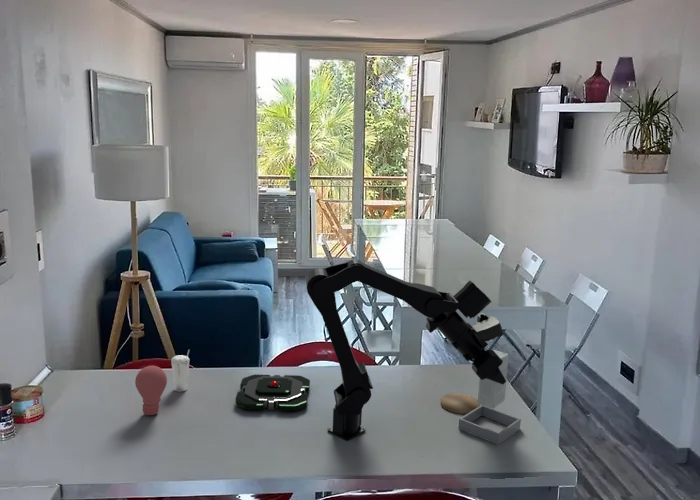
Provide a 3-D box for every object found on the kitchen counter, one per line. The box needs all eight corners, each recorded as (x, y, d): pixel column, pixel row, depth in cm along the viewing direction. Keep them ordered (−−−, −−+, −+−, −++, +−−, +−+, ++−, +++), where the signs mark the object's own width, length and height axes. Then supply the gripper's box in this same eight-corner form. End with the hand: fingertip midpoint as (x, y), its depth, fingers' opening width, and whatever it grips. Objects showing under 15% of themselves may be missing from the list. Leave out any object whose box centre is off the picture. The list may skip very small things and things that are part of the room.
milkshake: (196, 387, 166) (195, 351, 163) (180, 394, 161) (179, 357, 159) (183, 383, 168) (183, 347, 166) (168, 389, 163) (167, 353, 161)
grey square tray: (498, 444, 142) (499, 434, 142) (458, 428, 149) (459, 418, 149) (519, 428, 150) (520, 419, 150) (481, 413, 157) (481, 404, 156)
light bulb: (173, 414, 151) (172, 367, 148) (146, 424, 146) (144, 375, 143) (157, 404, 155) (156, 358, 153) (130, 413, 150) (129, 366, 148)
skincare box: (488, 395, 152) (493, 348, 149) (504, 401, 149) (509, 353, 147) (476, 403, 147) (480, 355, 145) (493, 409, 145) (498, 360, 142)
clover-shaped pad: (310, 384, 171) (310, 368, 170) (307, 415, 154) (308, 398, 153) (243, 382, 171) (243, 366, 170) (233, 413, 153) (233, 396, 152)
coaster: (466, 418, 155) (467, 415, 154) (432, 404, 161) (433, 401, 161) (487, 405, 162) (487, 402, 162) (454, 392, 168) (454, 390, 168)
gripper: (497, 320, 134) (541, 369, 138) (471, 295, 152) (510, 339, 156) (458, 355, 135) (503, 403, 138) (436, 326, 153) (476, 368, 156)
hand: (499, 376), depth 147 cm, fingers closed on skincare box, 7 cm apart
